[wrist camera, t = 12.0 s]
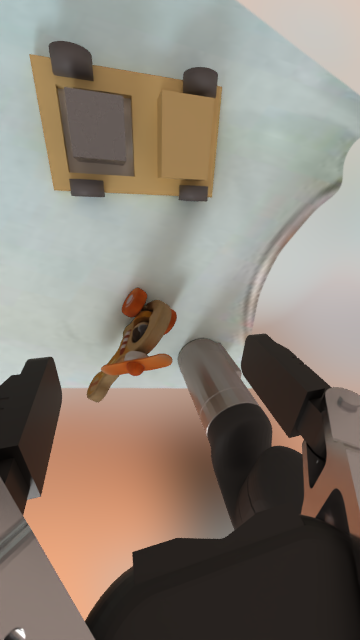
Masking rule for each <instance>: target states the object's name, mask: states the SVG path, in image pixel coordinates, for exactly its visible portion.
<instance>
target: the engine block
mask: <svg viewBox="0 0 360 640" xmlns="http://www.w3.org/2000/svg"><path fill="white" fill-rule="evenodd" d="M64 92H65V99H66V106H67V114H68V121H69V129H70V136H71V144H72V151H73V157H74V158H75V159H76V160H77V161H78V162H86V163H98V164H110V165H123V166H124V164H125V163H126V143H125V122H124V101H123V96H121V95H114V94H108V93H101V92H95V91H88V90H81V89H75V88H68V87H64Z"/></svg>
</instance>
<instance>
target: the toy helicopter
mask: <svg viewBox="0 0 360 640" xmlns="http://www.w3.org/2000/svg"><path fill="white" fill-rule="evenodd" d="M146 299H147V294H146V292H144V291H143V290H142V289H140V288H135V289H134V290H133V291H132V292H131V293H130V294H129V295H128V297H127V298H126V300H125V302H124V304H123V306H122V312H123V313H124V314H125V315H127V316H128V317H135V318H134V320H133V321H132V322H131V324H129V325H128V326H127V327H126V328H125V330H124V332H123V339H122V341H121V344H120V347H119V349H118V350H117V352H116V353H115V355H114V356H113V357H112V359H111V360H110V361H109V362H108V364H107V365H104V366H103V367H102V368H101V370H102V371H101V372H99V373H98V374H97V375H96V376H95V377H94V378H93V380H92V382H91V383H90V386H89V388H88V391H87V398H89V399H90V400H93V401H95V402H100V401H101V400H102V399H103V398H104V397H105V395H106V394H107V392H108V390H109V388H110V386H111V385H112V383H113V382H114V381H115V380H116V379H117V378H118V377H119V375H121V374H127V373H129V374H131V375H133V376H138V375H140V374H141V373H142V372H143V371H147V370H153V369H158V368H162V367H166V366H169V365H171V363H172V358H171V357H170V356H169V355H167V354H157V355H154V356H150V357H149V356H148V355H147V354H148V353H149V352H150V351H151V350H152V349H153V348H154V347H155V346H156V345H157V344H158V342H159V341H160V339H161V338H162V336H163V335H165V334H167V333H168V332H169V331H170V330H171V329H172V327H173V326H174V324H175V322H176V318H177V315H176V312H175V311H174V310H172V309H171V308H170V307H169V306H168V305H167V304H165V303H164V302H162V301H160V300H154V301H152V302H150V303H148V304H147V305H144V304H145V303H146Z"/></svg>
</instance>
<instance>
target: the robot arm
mask: <svg viewBox="0 0 360 640" xmlns="http://www.w3.org/2000/svg"><path fill="white" fill-rule="evenodd" d="M178 364H179V367H180V370H181V373H182V375H183V377H184V380H185V382H186V385H187V387H188V390H189V392H190V395H191V397H192V400H193V402H194V405H195V407H196V410H197V412H198V415H199V417H200V420H201V422H202V425H203V427H204V430H205V433H206V435H207V437H208V440H209V443H210V446H211V458H212V464H213V468H214V471H215V475H216V478H217V481H218V484H219V487H220V489H221V493H222V495H223V499H224V502H225V505H226V508H227V511H228V513H229V516H230V519H231V522H232V525H233V527H234V531H233V532H232V533H231V534H229V535H228V536H227V537H225V538H223V539H193V538H175V539H172V540H169V541H166V542H163V543H160V544H157V545H153V546H150V547H147V548H144V549H141V550H138V551H135V552H133V567H131V568H130V569H128V570H127V571H126V572H124V573H123V574H122V575H121V576H120V577H119V578H118V579H116V580H115V581H114V582H113V583H112V584H111V585H110V587H109V588H108V589H107V590H106V591H105V592H104V594H103V595H102V596H101V597H100V599H99V600H98V602H97V603H96V604H95V606H94V607H93V609H92V610H91V612H90V613H89V615H88V617H87V619H86V620H85V621H84V620H83V618H82V616H81V615H80V613H79V611H78V609H77V608H76V606H75V604H74V603H73V601H72V599H71V597H70V596H69V594H68V592H67V590H66V589H65V587H64V585H63V583H62V582H61V580H60V578H59V577H58V575H57V573H56V571H55V570H54V568H53V566H52V565H51V563H50V561H49V559H48V558H47V556H46V555H45V552H44V551H43V549H42V547H41V545H40V544H39V542H38V540H37V539H36V537H35V535H34V533H33V532H32V530H31V528H30V527H29V525H28V524H27V522H26V520H25V519H24V517H23V513H24V509H25V505H26V501H27V500H28V499H32V498H36V497H40V496H41V493H42V489H43V484H44V480H45V475H46V471H47V466H48V462H49V457H50V453H51V448H52V444H53V439H54V435H55V430H56V426H57V421H58V417H59V412H60V408H61V403H62V391H61V385H60V382H59V378H58V374H57V370H56V366H55V362H54V359H53V358H52V357H44V358H35V359H28V360H27V362H26V364H25V366H24V368H23V370H22V372H21V374H19V375H12V376H10V377H9V378H8V379H7V380H6V381H5V382H4V383H3V384H2V385H0V640H360V395H358V394H357V393H355V392H353V391H350V390H347V389H344V388H338V387H333V388H332V387H330V386H329V385H328V384H327V383H326V382H325V381H324V380H323V379H321V378H320V377H319V376H318V375H317V374H316V373H315V372H314V371H312V370H311V369H310V368H309V367H308V366H307V365H304V363H303V362H302V361H301V360H300V359H299V358H297V357H296V356H295V355H294V354H293V353H292V352H291V351H290V350H289V349H287V348H285V347H283V346H282V345H280V344H277V343H276V342H274V341H273V340H272V339H271V338H270V337H269V336H268V335H267V334H256V335H249V336H247V338H246V341H245V346H244V351H243V356H242V361H241V369H242V373H243V375H244V377H245V378H246V380H247V381H248V382H249V384H250V385H251V386H252V388H253V389H254V391H255V392H256V393H257V395H258V396H259V397H260V399H261V400H262V402H263V403H264V404H265V405H266V407H267V408H268V410H269V411H270V413H271V414H272V415H273V417H274V418H275V419H276V421H277V422H278V423H279V425H280V426H281V428H282V429H283V430H284V432H285V433H286V435H287V436H288V437H289V438H291V437H295V436H299V435H301V436H302V437H303V438H304V441H303V443H302V454H301V453H299V452H297V451H295V450H293V449H291V448H288V447H284V446H273V447H271V443H272V426H271V423H270V421H269V419H268V417H267V416H266V414H265V413H264V411H263V410H262V409H261V407H260V406H259V405H258V403H257V402H256V400H255V399H254V397H253V396H252V395H251V393H250V392H249V390H248V389H247V387H246V386H245V385H244V383H243V382H242V380H241V379H240V378H241V370H240V369H239V368H238V366H237V365H236V364H235V362H234V361H233V359H232V358H231V357H230V355H229V354H228V353H227V351H226V350H225V348H224V347H223V346H222V344H221V343H215V342H214V341H212V340H209V339H197V340H194V341H192V342H190V343H188V344H187V345H186V346H185V347H184V348H183V349H182V350H181V351H180V354H179V356H178Z"/></svg>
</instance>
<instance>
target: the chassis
mask: <svg viewBox="0 0 360 640" xmlns="http://www.w3.org/2000/svg"><path fill="white" fill-rule="evenodd" d="M49 52H50V58H49V57H43V56H37V55H31V54H29V55H30V60H31V66H32V71H33V77H34V82H35V88H36V93H37V99H38V104H39V110H40V115H41V121H42V126H43V132H44V137H45V143H46V148H47V153H48V159H49V164H50V170H51V175H52V181H53V186H54V190H61V191H71V195H72V196H85V197H105V193H127V194H149V195H171V196H179V200H186V201H207V197H212V189H213V178H214V168H215V157H216V146H217V136H218V125H219V114H220V104H221V93H222V87H220V86H217V80H218V74H217V72H216V71H214V70H212V69H209V68H203V67H196V68H191V69H188V70H186V71H185V72H184V74H183V80H179V79H173V78H167V77H161V76H155V75H149V74H143V73H137V72H131V71H126V70H120V69H114V68H108V67H102V66H96V65H92V56H91V54H90V52H89V51H88V50H87V49H85V48H83V47H82V46H80V45H77V44H74V43H71V42H65V41H55V42H52V43H50V44H49ZM64 87H68V88H75V89H81V90H88V91H95V92H101V93H108V94H114V95H121V96H123V101H124V122H125V143H126V163H125V164H124V166H123V165H110V164H98V163H86V162H78V161H77V160H76V159H75V158H74V157H73V151H72V144H71V136H70V129H69V121H68V114H67V106H66V99H65V92H64ZM104 192H105V193H104Z"/></svg>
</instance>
